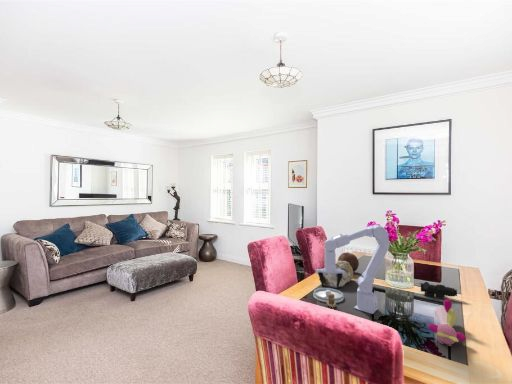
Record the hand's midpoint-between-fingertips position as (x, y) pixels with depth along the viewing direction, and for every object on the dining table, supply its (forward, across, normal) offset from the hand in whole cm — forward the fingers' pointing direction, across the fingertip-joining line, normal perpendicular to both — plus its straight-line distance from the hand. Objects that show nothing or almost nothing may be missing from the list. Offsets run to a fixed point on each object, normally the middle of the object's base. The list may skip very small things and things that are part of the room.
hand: (330, 287), depth 141 cm
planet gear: (+9, 0, +2) cm, 10 cm away
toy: (+10, -46, +22) cm, 51 cm away
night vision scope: (+10, -63, -22) cm, 67 cm away
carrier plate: (+9, 0, -11) cm, 14 cm away
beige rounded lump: (+10, -9, -35) cm, 38 cm away
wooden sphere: (+10, -20, -60) cm, 64 cm away
